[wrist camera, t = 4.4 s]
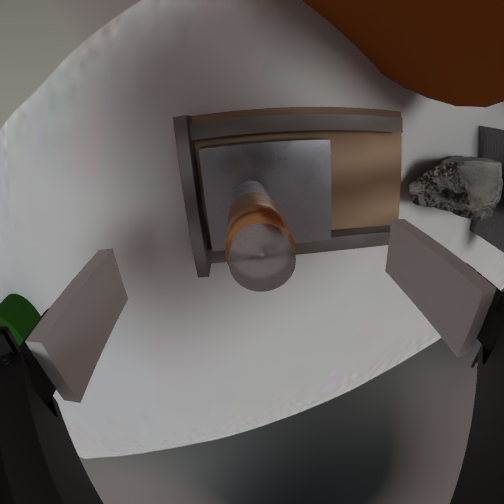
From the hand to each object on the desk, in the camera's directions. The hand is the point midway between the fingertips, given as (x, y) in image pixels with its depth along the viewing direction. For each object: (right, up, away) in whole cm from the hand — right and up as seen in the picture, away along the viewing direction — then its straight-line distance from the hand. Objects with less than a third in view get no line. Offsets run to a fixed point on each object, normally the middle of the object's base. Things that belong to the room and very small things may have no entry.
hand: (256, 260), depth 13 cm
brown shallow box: (+4, +7, +14) cm, 16 cm away
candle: (-35, -9, +20) cm, 41 cm away
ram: (+1, +6, +13) cm, 14 cm away
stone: (+22, +9, +15) cm, 28 cm away
